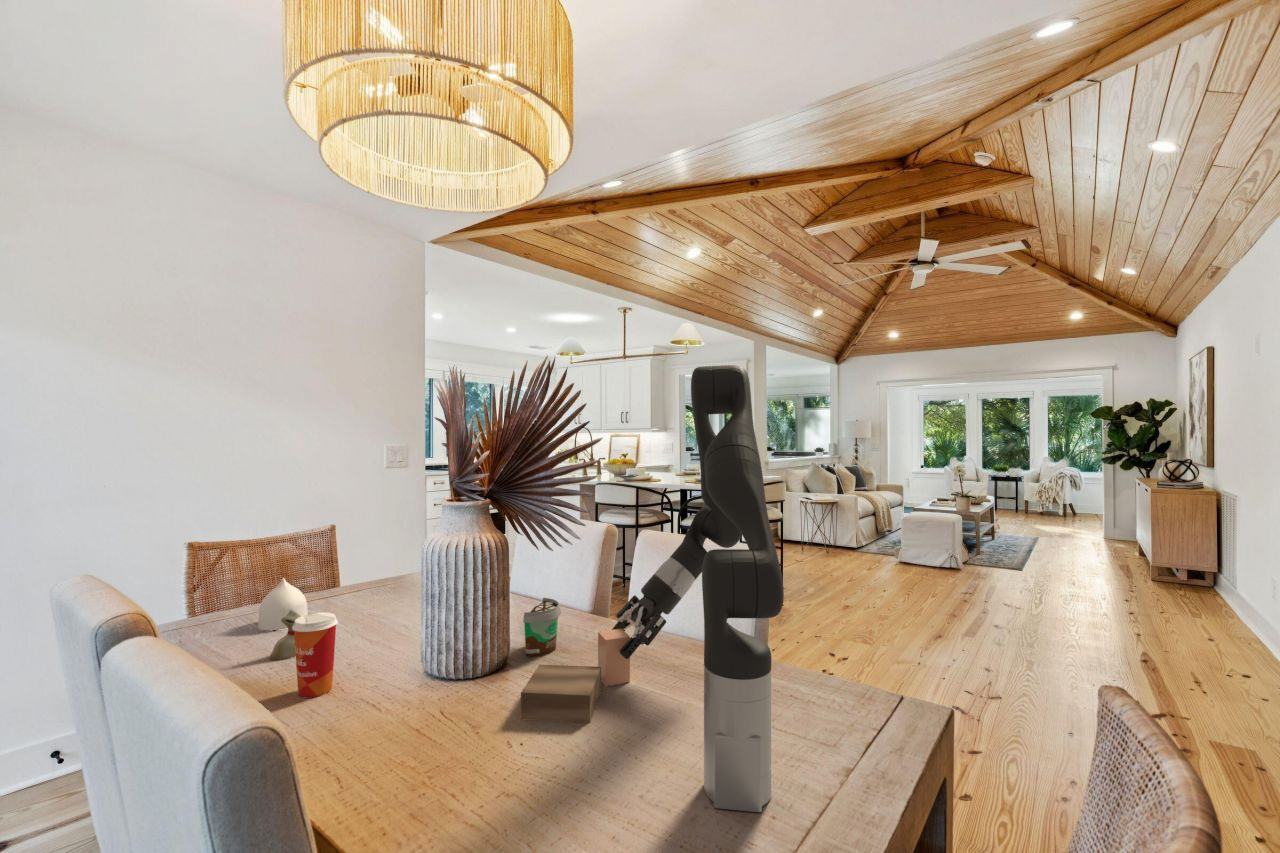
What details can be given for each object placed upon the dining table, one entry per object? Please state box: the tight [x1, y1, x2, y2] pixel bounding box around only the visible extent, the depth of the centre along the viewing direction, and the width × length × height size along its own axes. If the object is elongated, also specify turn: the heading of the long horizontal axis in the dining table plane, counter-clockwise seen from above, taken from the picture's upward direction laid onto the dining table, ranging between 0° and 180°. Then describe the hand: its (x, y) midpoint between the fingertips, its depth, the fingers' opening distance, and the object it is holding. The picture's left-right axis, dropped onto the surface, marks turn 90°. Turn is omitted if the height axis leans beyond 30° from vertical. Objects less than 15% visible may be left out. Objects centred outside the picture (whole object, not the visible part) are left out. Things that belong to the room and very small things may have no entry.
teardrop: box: [257, 576, 309, 631], centre depth 152 cm, size 11×11×12 cm
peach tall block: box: [597, 629, 631, 687], centre depth 119 cm, size 5×5×9 cm
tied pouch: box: [269, 610, 301, 661], centre depth 132 cm, size 6×8×10 cm
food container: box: [522, 597, 562, 658], centre depth 134 cm, size 12×6×10 cm, turn 168°
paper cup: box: [292, 612, 339, 699], centre depth 113 cm, size 8×8×14 cm
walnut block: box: [520, 664, 602, 724], centre depth 108 cm, size 12×12×5 cm
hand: (615, 648), depth 119 cm, fingers open, 8 cm apart
